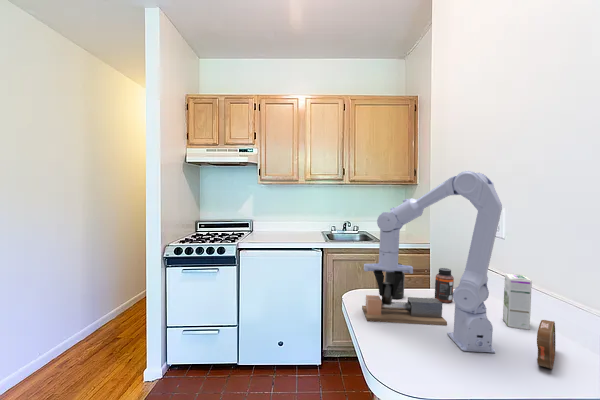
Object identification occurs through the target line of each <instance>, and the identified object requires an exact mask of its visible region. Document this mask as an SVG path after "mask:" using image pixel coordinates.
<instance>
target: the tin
mask: <svg viewBox="0 0 600 400" xmlns="http://www.w3.org/2000/svg"><path fill="white" fill-rule="evenodd" d="M538 325H539V326H538V329H537V333H536V347H537V358H536V361H537V365H538V366H539V367H544V368H547V369H550V370H553V368H554V362H555V359H556V358H555V357H556V323H555V321H554V320H553V321H552V320H547V319H541V320H540V323H539V324H538Z"/></svg>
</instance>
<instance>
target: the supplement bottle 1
mask: <svg viewBox="0 0 600 400" xmlns="http://www.w3.org/2000/svg"><path fill="white" fill-rule="evenodd" d="M398 265H403V264H402V263H400V262H398ZM384 273H385V275H384V282H389V283H392V275H391V272H384ZM402 274H403V278H402V280H401V281H400V283H399V285H398V287H397V290H396V293H395V296H392V300H401V299H403V298H404V295H405V277H406V275H405V274H406V273H402Z"/></svg>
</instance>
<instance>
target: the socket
mask: <svg viewBox="0 0 600 400" xmlns="http://www.w3.org/2000/svg"><path fill="white" fill-rule="evenodd" d="M381 304H382V298H381V296H380V295H372V294H366V295H365V305H364V306H365V309H366V311H367V314H373V315H381Z"/></svg>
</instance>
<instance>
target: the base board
mask: <svg viewBox="0 0 600 400" xmlns="http://www.w3.org/2000/svg"><path fill="white" fill-rule="evenodd" d="M365 306H366V305H362V312H363V314H364V316H365V319H366V322H373V323H374V322H378V323H395V324H397V323H398V324H414V325H430V324H431V325H432V326H433V325H434V326H435V325H436V326H448V321H447V320H446V319H445V318H444V316H442V318H431V317H412V316H410V314H409V313H408V311H405V310H386V309H381V315H373V314H367V311H366V309H365Z"/></svg>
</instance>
